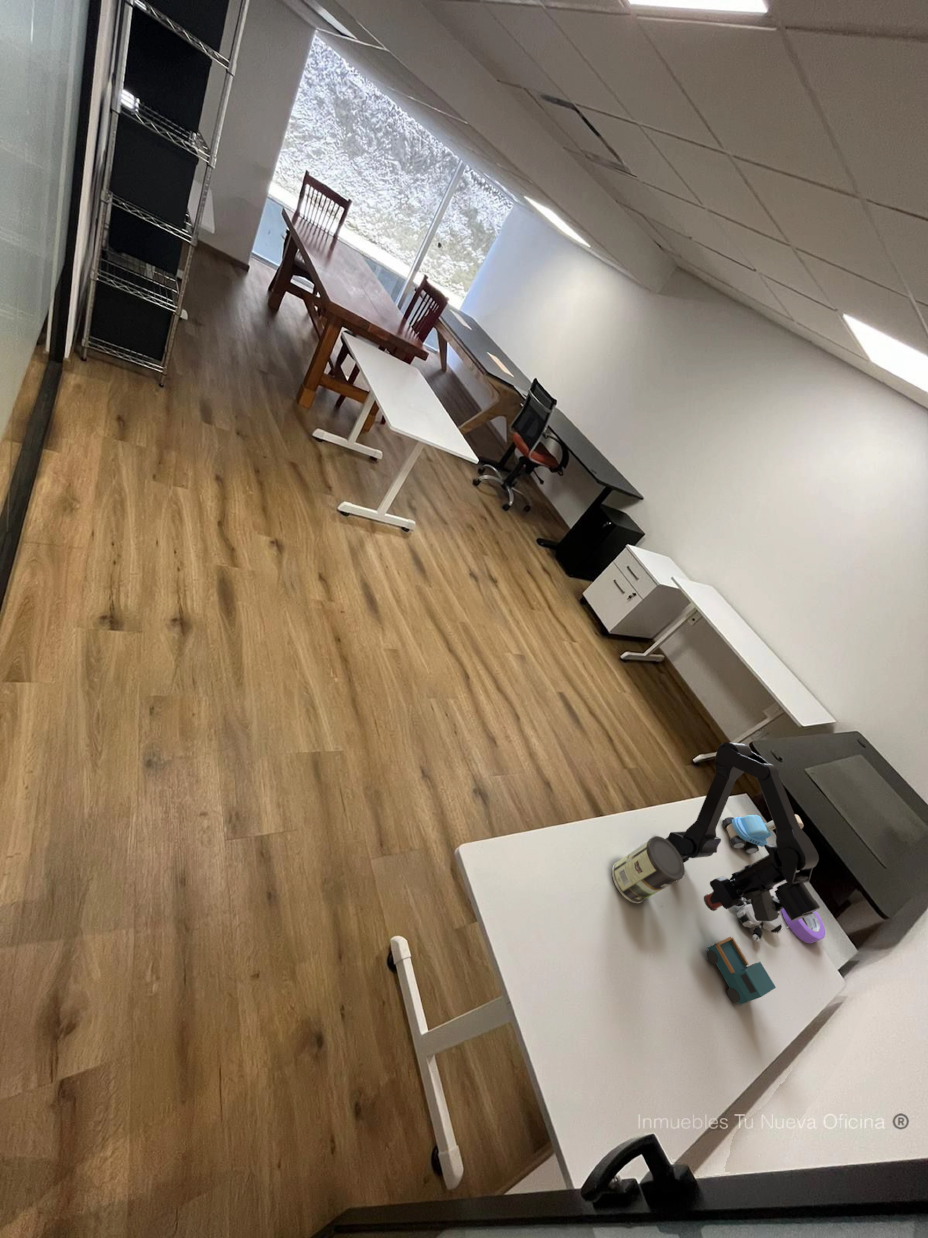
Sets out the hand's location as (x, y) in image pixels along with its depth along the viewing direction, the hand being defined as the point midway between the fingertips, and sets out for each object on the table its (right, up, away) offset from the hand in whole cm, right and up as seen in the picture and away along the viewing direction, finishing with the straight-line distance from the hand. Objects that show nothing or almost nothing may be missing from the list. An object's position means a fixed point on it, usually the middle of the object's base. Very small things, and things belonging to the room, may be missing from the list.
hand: (715, 900), depth 133 cm
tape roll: (+34, -17, +21) cm, 43 cm away
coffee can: (-22, +4, 0) cm, 22 cm away
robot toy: (+16, -11, +13) cm, 23 cm away
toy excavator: (+25, 0, +35) cm, 43 cm away
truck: (0, -15, -5) cm, 16 cm away
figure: (-1, -1, +1) cm, 2 cm away
